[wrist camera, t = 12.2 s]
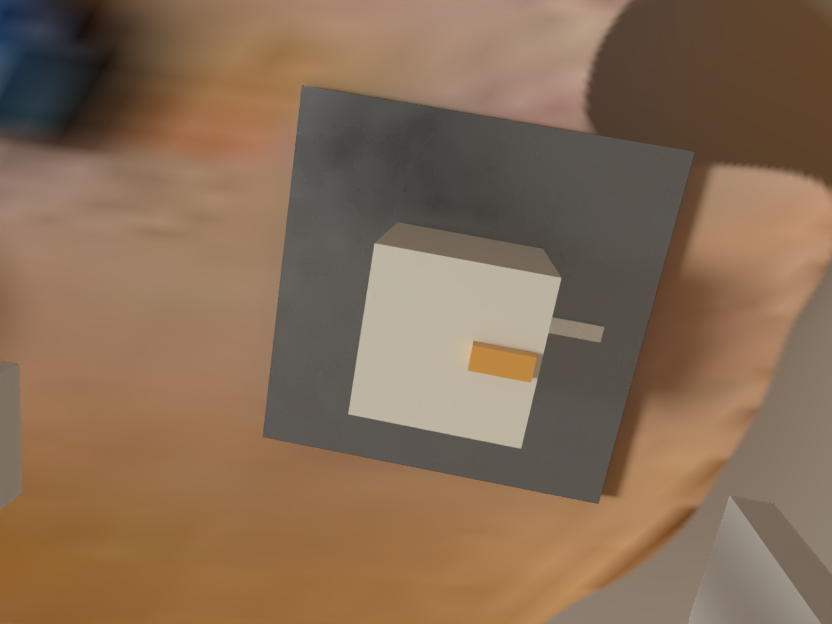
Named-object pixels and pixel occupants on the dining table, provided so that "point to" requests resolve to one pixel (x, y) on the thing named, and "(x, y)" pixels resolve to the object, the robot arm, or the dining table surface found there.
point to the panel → (482, 217)
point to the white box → (453, 333)
